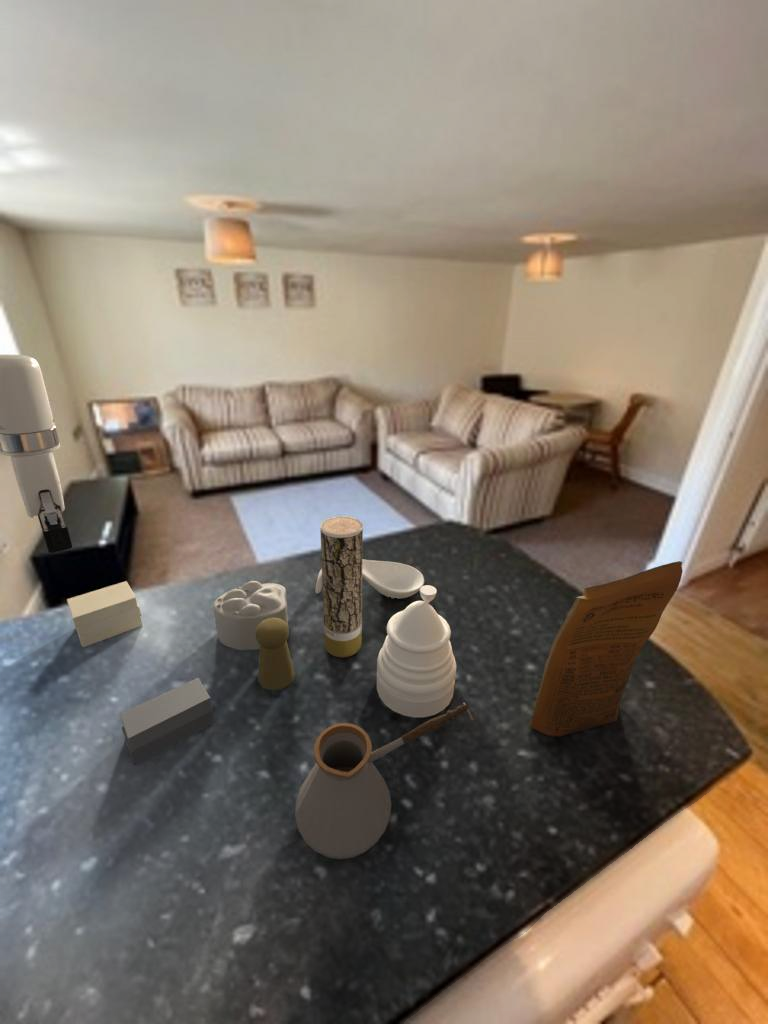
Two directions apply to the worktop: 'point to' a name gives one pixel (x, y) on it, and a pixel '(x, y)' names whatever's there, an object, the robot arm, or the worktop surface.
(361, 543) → the brown bark cylinder
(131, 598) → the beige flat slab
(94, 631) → the tan rectangular block
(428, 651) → the honey pot
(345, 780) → the coffee pot
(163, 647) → the worktop surface
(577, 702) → the pancake mix bag
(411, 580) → the spoon rest
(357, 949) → the worktop surface
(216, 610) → the lumpy-topped squat cylinder
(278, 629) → the olive peg figurine
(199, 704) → the grey block
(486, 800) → the worktop surface
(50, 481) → the robot arm
